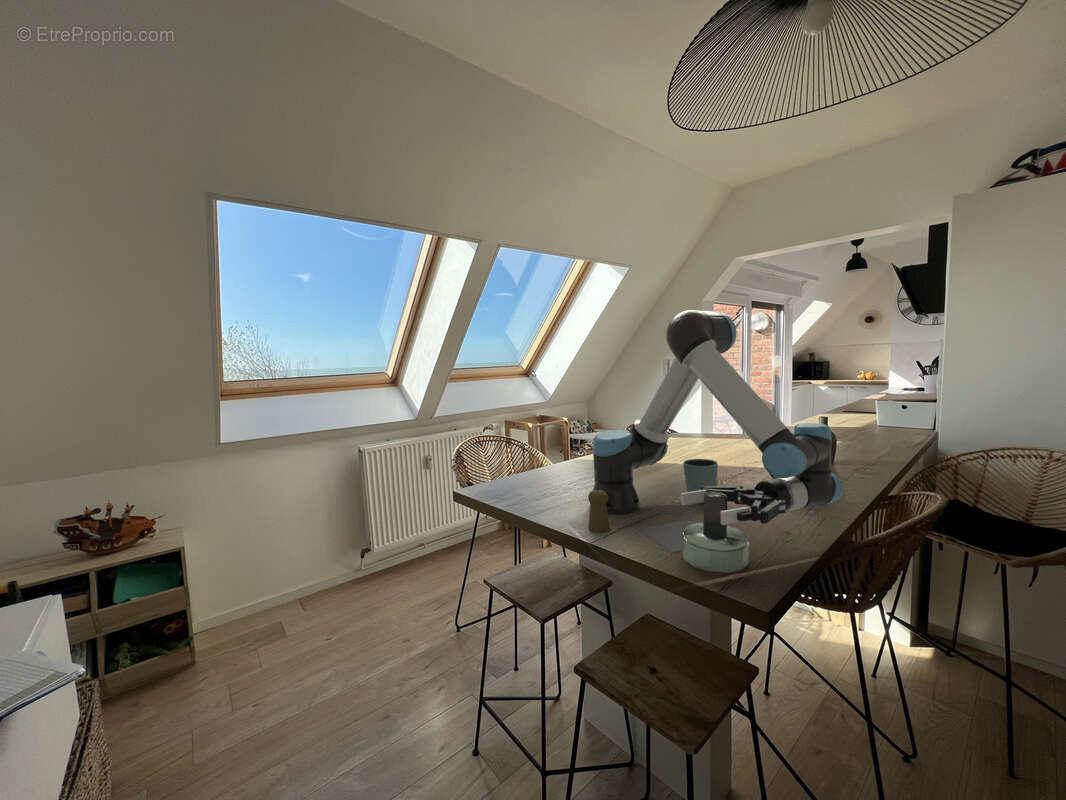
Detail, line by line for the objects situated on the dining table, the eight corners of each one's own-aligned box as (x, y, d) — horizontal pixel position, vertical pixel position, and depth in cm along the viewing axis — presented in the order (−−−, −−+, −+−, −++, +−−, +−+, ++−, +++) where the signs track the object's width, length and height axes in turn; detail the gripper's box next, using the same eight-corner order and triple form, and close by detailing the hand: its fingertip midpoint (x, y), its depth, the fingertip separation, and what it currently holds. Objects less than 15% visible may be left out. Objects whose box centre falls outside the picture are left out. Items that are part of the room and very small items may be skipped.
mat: (636, 531, 119) (636, 528, 119) (688, 522, 124) (688, 519, 124) (671, 555, 104) (671, 552, 104) (729, 543, 108) (729, 541, 108)
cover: (671, 551, 104) (671, 489, 103) (719, 542, 108) (720, 482, 106) (708, 579, 92) (709, 510, 90) (761, 568, 96) (763, 501, 94)
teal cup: (725, 502, 138) (724, 463, 137) (696, 506, 136) (695, 467, 135) (705, 493, 148) (704, 457, 147) (677, 496, 146) (676, 460, 145)
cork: (585, 527, 123) (584, 488, 122) (607, 526, 124) (606, 487, 123) (590, 536, 117) (588, 495, 116) (613, 534, 118) (611, 493, 117)
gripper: (828, 529, 92) (742, 546, 86) (740, 496, 116) (668, 507, 110) (828, 493, 92) (741, 508, 86) (740, 467, 115) (667, 477, 110)
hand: (700, 508), depth 98 cm, fingers open, 13 cm apart
